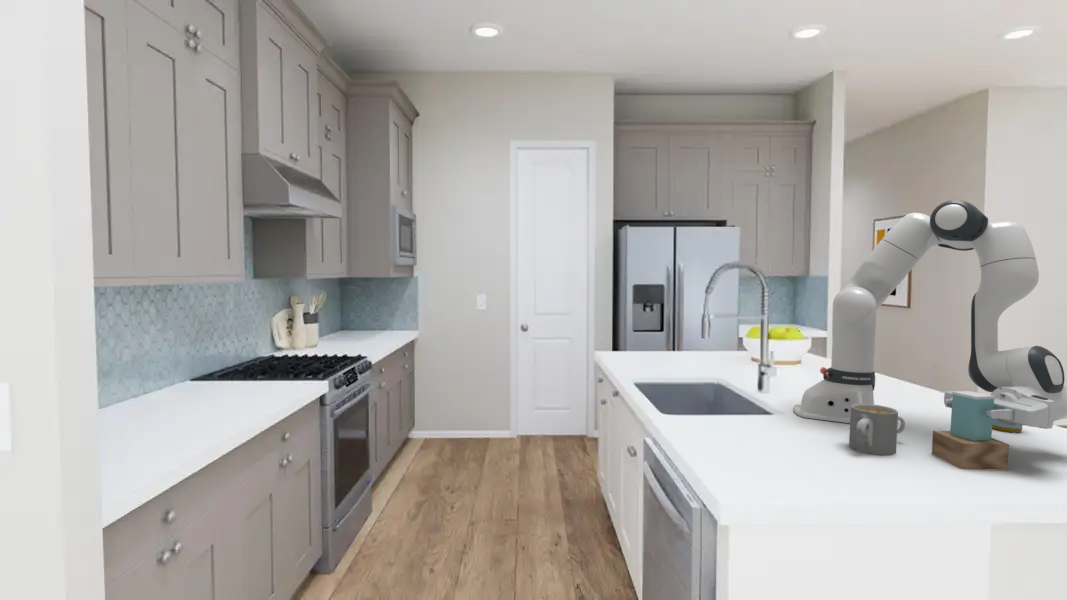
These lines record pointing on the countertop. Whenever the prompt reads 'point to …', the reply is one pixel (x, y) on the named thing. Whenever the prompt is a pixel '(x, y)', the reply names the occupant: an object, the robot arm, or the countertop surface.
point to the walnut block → (970, 451)
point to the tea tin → (971, 415)
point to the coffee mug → (873, 429)
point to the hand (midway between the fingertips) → (968, 408)
